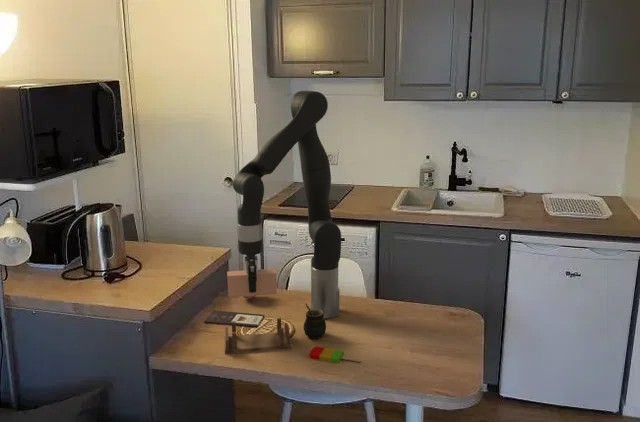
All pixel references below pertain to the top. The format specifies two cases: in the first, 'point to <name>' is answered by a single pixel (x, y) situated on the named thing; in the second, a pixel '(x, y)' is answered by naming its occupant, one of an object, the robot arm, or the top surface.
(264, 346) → the rack
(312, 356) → the popsicle
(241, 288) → the tan rectangular block
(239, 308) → the top surface
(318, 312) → the mate gourd
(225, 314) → the chocolate bar
